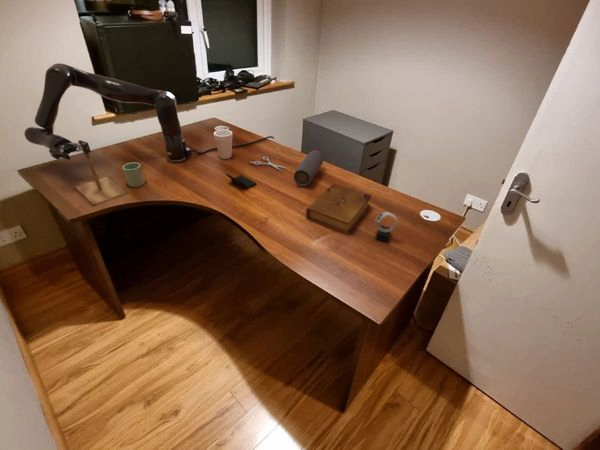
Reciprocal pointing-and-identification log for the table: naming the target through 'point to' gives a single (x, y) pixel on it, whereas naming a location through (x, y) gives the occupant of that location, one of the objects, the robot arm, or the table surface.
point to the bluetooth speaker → (308, 168)
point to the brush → (90, 164)
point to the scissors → (265, 163)
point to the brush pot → (133, 174)
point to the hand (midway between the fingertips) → (79, 153)
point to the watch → (382, 230)
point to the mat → (95, 194)
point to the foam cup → (224, 143)
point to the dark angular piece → (242, 181)
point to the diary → (338, 208)
